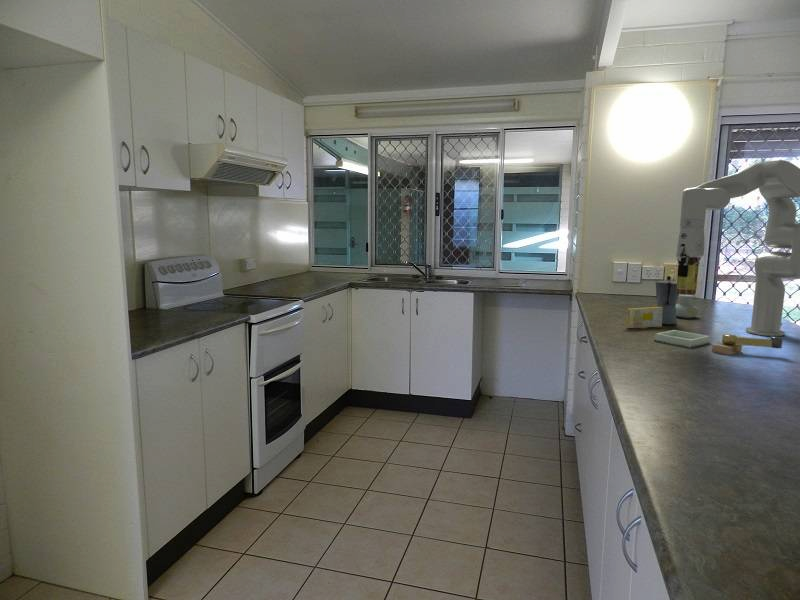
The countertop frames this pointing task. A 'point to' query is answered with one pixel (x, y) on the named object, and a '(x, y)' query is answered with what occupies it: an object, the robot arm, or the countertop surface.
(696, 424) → the countertop surface
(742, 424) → the countertop surface
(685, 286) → the sauce bottle
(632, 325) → the candy box
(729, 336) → the lever
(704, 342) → the tray
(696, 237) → the robot arm
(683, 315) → the air freshener
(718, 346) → the orange brown block
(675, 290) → the moka pot
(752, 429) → the countertop surface
